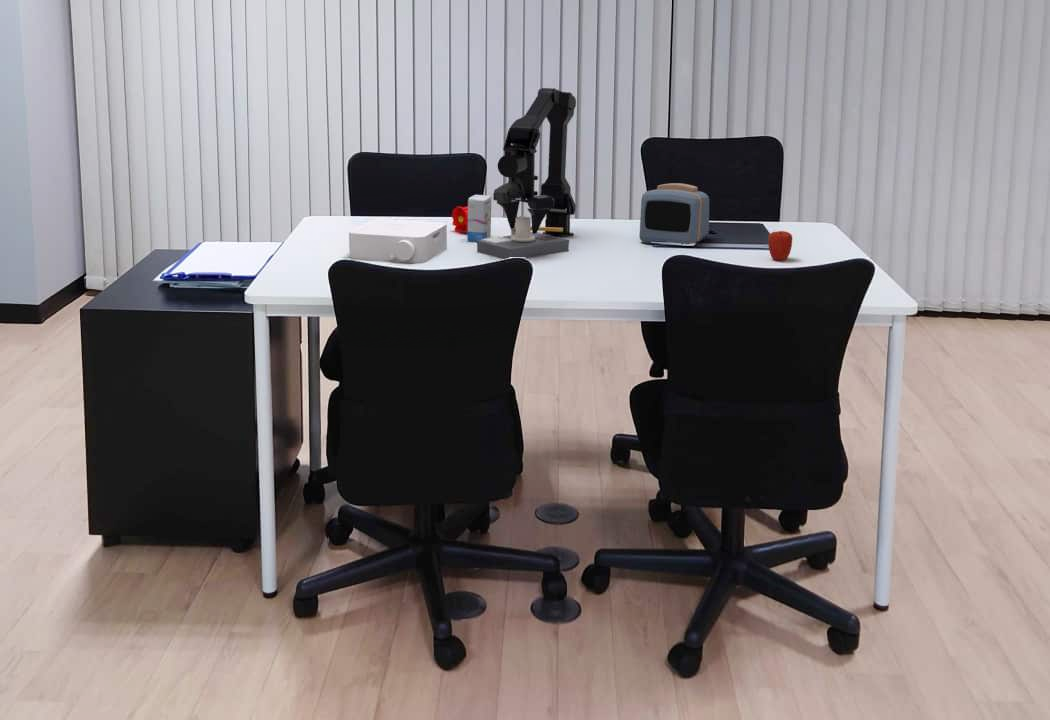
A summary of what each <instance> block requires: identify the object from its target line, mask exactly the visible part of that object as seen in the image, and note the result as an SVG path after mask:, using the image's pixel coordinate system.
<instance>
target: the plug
mask: <svg viewBox="0 0 1050 720" xmlns="http://www.w3.org/2000/svg"><path fill="white" fill-rule="evenodd" d="M515 225H516V235H512V236H511V240H512V241H516V242H520V243H525V242H531V241H534V240H535V236H534V235H531V232H532V230H531V227H532V222H531V216H517V217H516V223H515Z"/></svg>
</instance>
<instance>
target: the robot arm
mask: <svg viewBox="0 0 1050 720" xmlns="http://www.w3.org/2000/svg"><path fill="white" fill-rule="evenodd" d="M576 106H577V100H576V97H575V96H574V95H573V93H572V92H571V91H569V92H566V91H562V90H559V89H556V88H554V87H553V88H552V87H551V88H550V87H542V88H539V89H538V91H537V96H536V97H535V99H534V101H533V102H532V103H531V105H530V107H529V108H528V110H527V111H526V113H525V115H524V116H522V117H519V118H517V119H515V120H514V121H513V123H512V124H511V126H510V127H509V128H508V131H507V134H506V137H505V141H504V144H503V148H502V150H503V151H504V155H503V156H501V157H500V158H499V160H498V162H497V170H498V172H499V174H500V175H502V176H503V177H504V178H508V180H507V181H508V182H506V183H503V184H502V185H500V186H499V187H497V188H495V189H494V190H493V201H496V204H497V205H499V206H501V208H502V209H503V211H504V213H505V215H506V220H507V221H508V226H509V228H510V229H511V228H514V227H515V225H516V217H518V212H519V207H520V203H521V202H522V203H526V204H527V206H528V207H529V208H527V209H526V210H527V211H528V212H529V213H530V218H531V227H532V230H531V232H532V233H533V234H536V233H537V232H539V231H538V229H539V227H541V225H542V223H543V221H544V223H545V225H544V227H554V228H563V231H562V232H559V231H541V233H542V234H547V235H551V236H555V237H559V238H562V237H568V236H573V235H574V233H573V232H570V231H571V216H572V215H573V216H575V213H576V208H577V206H576V203H575V200H574V198H573V196H572V194H571V192H572V191H571V185H570V183H569V182H568V180H567V178H566V167H567V166H566V165H567V144H568V143H567V141H568V139H567V138H568V125H569V123H570V121H571V120H572V118H573V117H574V115H575V109H576ZM545 119H546V120H547V121H548V123H549V142H548V145H549V146H548V167H547V168H548V170H547V178H546V180H545V181H544V182H543V183H541V185H540V193H539V192H538V191H537V190H535V181H538V180H539V175H536V174H535V168H536V167H535V166H536V165H535V161H536V160H535V158H536V157H535V155H536V153H537V152H538V150H537V149H536V148H537V146H538V143H539V141H540V138H541V131H540V128H541V126H542V124H543V122H545ZM538 194H539V195H538ZM544 219H545V220H544Z"/></svg>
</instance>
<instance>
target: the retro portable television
mask: <svg viewBox="0 0 1050 720" xmlns="http://www.w3.org/2000/svg"><path fill="white" fill-rule="evenodd" d="M640 202H641V203H640V219H639V220H640V221H639V240H640V241H641V242H642V243H645V244H647V245H648V244H649V245H652V244H651V241H652V240H657V241H666V242H675V243H681V244H684V243H685V244H690V243H694V242H696V241H698V240H699V239H700V238H702V237H703V236H705V235H706V234H708V235H709V232H710V198H709V196H708V194H707V193H705V192H703V191H699V190H698V186H695V185H692V184H687V183H681V182H680V183H679V182H678V183H675V182H674V183H672V182H671V183H664V184H663V183H662V184H659V185H657V187H656V189H652V190H651V189H650V190H648V191H645V192H644V193H643V194H642V196H641V201H640Z"/></svg>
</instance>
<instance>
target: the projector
mask: <svg viewBox="0 0 1050 720" xmlns="http://www.w3.org/2000/svg"><path fill="white" fill-rule="evenodd" d="M447 235H448V233H447V223H446V222H439V221H438V222H437V221H436V222H435V221H423V220H421V221H420V220H405V219H403V220H402V219H386V218H379V219H378V218H377V219H372V220H370V221H368V222H366V223H364V224H361V225H360V226H358V227H356V228H353V229H351V230H350V231H348V241H349V242H348V243H349V244H348V245H349V246H348V247H349V258H350V259H353V260H363V261H364V260H365V259H368V260H369V261H379V260H383V261H384V262H397V263H410V264H411V263H412V264H420V263H421V264H422V263H426V262H428V261H430V260H432V259H433V258H435V257H437V255H439V254H441V253H443V252H444V251H447V249H448V238H447V237H448V236H447ZM368 260H367V261H368ZM383 261H382V262H383Z"/></svg>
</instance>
